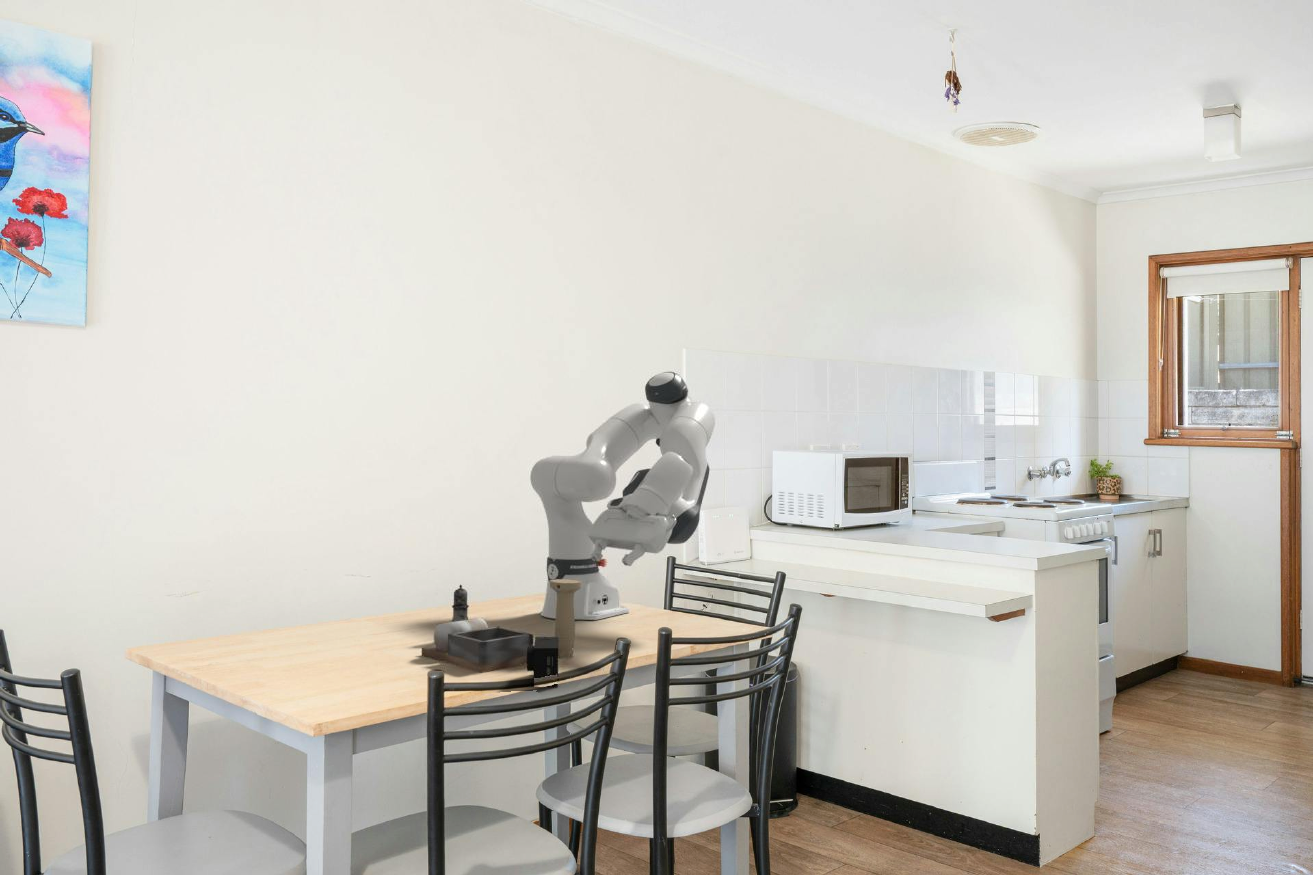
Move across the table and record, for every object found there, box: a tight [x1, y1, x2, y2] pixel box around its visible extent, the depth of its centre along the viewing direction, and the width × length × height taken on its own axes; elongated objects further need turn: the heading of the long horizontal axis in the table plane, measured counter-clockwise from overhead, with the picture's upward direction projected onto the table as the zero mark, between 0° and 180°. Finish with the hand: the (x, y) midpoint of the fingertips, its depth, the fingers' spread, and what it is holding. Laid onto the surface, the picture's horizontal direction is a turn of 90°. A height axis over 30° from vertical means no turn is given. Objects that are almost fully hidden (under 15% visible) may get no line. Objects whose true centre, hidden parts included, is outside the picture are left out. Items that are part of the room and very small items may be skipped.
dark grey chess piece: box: [450, 584, 470, 622], centre depth 217 cm, size 6×6×12 cm
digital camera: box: [526, 636, 559, 688], centre depth 182 cm, size 10×5×7 cm, turn 5°
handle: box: [550, 579, 581, 659], centre depth 202 cm, size 5×6×15 cm
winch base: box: [421, 617, 534, 673], centre depth 199 cm, size 12×20×7 cm, turn 46°
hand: (609, 561), depth 210 cm, fingers open, 8 cm apart
